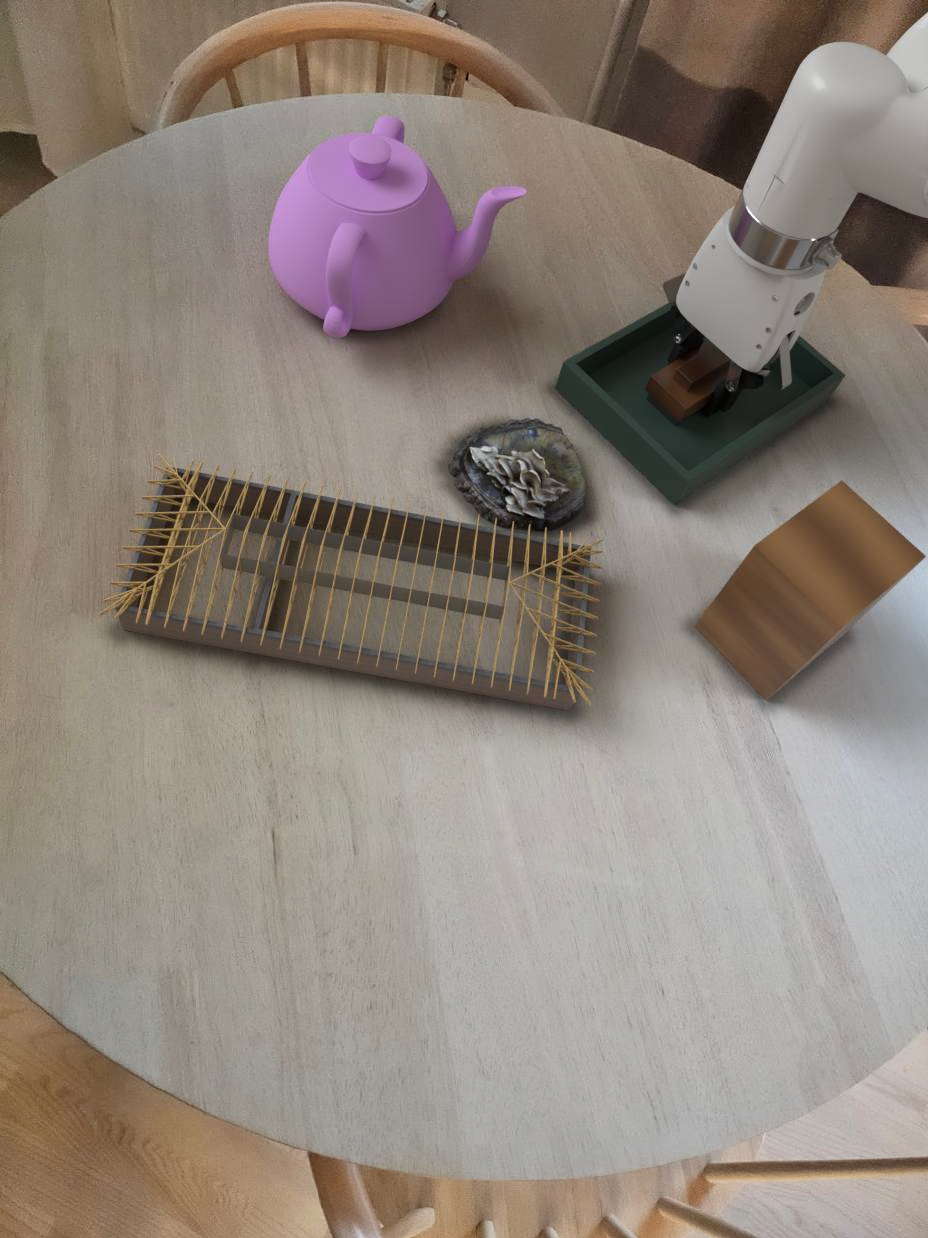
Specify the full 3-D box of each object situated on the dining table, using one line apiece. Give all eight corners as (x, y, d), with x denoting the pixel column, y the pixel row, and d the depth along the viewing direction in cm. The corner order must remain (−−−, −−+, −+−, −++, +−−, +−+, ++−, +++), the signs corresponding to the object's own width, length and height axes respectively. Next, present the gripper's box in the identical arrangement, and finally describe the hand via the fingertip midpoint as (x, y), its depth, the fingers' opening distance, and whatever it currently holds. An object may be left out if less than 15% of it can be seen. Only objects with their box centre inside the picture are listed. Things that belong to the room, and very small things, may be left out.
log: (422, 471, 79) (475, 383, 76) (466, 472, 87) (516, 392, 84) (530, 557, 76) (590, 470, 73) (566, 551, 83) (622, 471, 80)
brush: (712, 354, 90) (729, 321, 86) (746, 385, 89) (765, 352, 85) (640, 398, 86) (654, 365, 82) (674, 431, 85) (691, 399, 81)
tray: (711, 298, 94) (724, 270, 91) (828, 400, 90) (845, 374, 87) (554, 388, 86) (563, 361, 83) (674, 506, 81) (688, 481, 78)
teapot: (479, 399, 84) (506, 276, 72) (238, 341, 83) (226, 208, 71) (516, 236, 95) (546, 106, 83) (304, 185, 94) (302, 45, 82)
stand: (773, 565, 80) (841, 479, 69) (844, 634, 77) (926, 556, 67) (693, 626, 76) (754, 545, 65) (766, 700, 73) (841, 629, 63)
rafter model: (107, 638, 68) (89, 596, 63) (164, 480, 75) (153, 430, 70) (579, 723, 70) (601, 689, 65) (592, 562, 77) (612, 519, 72)
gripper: (895, 276, 70) (788, 433, 86) (733, 145, 75) (659, 317, 91) (833, 314, 68) (734, 470, 83) (669, 176, 72) (605, 348, 88)
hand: (696, 389), depth 87 cm, fingers closed on brush, 4 cm apart
